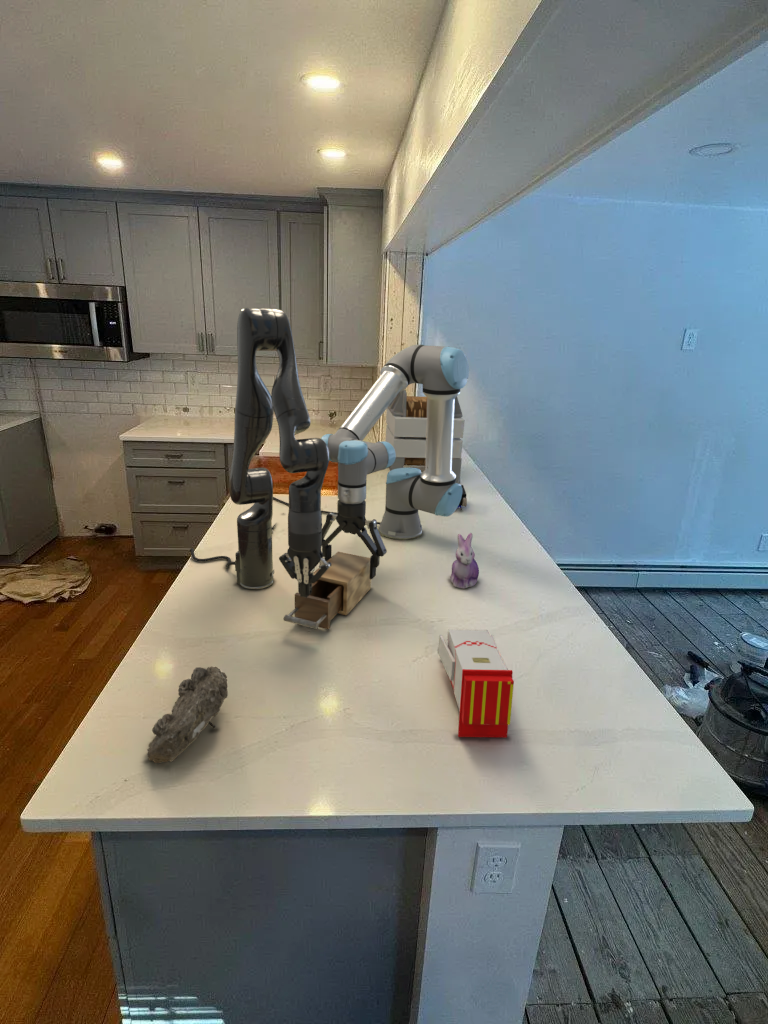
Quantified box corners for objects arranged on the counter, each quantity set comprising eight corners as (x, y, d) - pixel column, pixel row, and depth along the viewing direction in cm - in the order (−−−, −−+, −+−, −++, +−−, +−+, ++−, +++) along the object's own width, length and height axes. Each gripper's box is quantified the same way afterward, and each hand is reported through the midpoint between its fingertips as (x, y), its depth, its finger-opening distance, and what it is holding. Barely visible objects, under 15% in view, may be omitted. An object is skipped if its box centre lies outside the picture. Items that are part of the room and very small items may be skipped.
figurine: (460, 592, 160) (465, 543, 155) (441, 577, 168) (445, 530, 163) (487, 586, 164) (493, 538, 159) (467, 572, 173) (472, 526, 168)
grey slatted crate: (382, 463, 289) (386, 382, 275) (445, 464, 293) (451, 384, 279) (390, 482, 257) (394, 392, 243) (460, 483, 261) (468, 394, 247)
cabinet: (346, 615, 146) (347, 582, 142) (310, 607, 149) (310, 574, 146) (370, 588, 160) (371, 558, 157) (337, 581, 163) (338, 551, 160)
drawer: (317, 641, 132) (317, 613, 130) (282, 632, 135) (282, 605, 133) (353, 602, 150) (354, 576, 148) (322, 594, 153) (322, 570, 151)
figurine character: (467, 515, 225) (461, 499, 238) (469, 498, 221) (463, 482, 235) (450, 514, 224) (445, 498, 238) (452, 497, 221) (447, 482, 234)
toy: (488, 613, 130) (523, 677, 101) (484, 667, 133) (517, 744, 104) (435, 612, 130) (455, 676, 101) (432, 666, 133) (451, 743, 103)
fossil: (176, 667, 115) (228, 635, 110) (209, 698, 118) (262, 668, 113) (121, 756, 95) (182, 722, 90) (163, 791, 98) (223, 759, 93)
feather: (284, 516, 214) (286, 512, 213) (265, 543, 187) (268, 538, 187) (280, 514, 214) (282, 510, 213) (260, 540, 187) (263, 535, 187)
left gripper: (270, 527, 126) (272, 596, 132) (323, 537, 121) (323, 609, 127) (287, 516, 132) (288, 583, 138) (338, 526, 128) (337, 594, 134)
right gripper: (303, 496, 151) (303, 569, 158) (390, 511, 143) (387, 587, 150) (316, 489, 157) (316, 558, 165) (400, 502, 149) (396, 575, 156)
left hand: (305, 595), depth 133 cm, fingers closed
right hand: (350, 572), depth 157 cm, fingers open, 13 cm apart
